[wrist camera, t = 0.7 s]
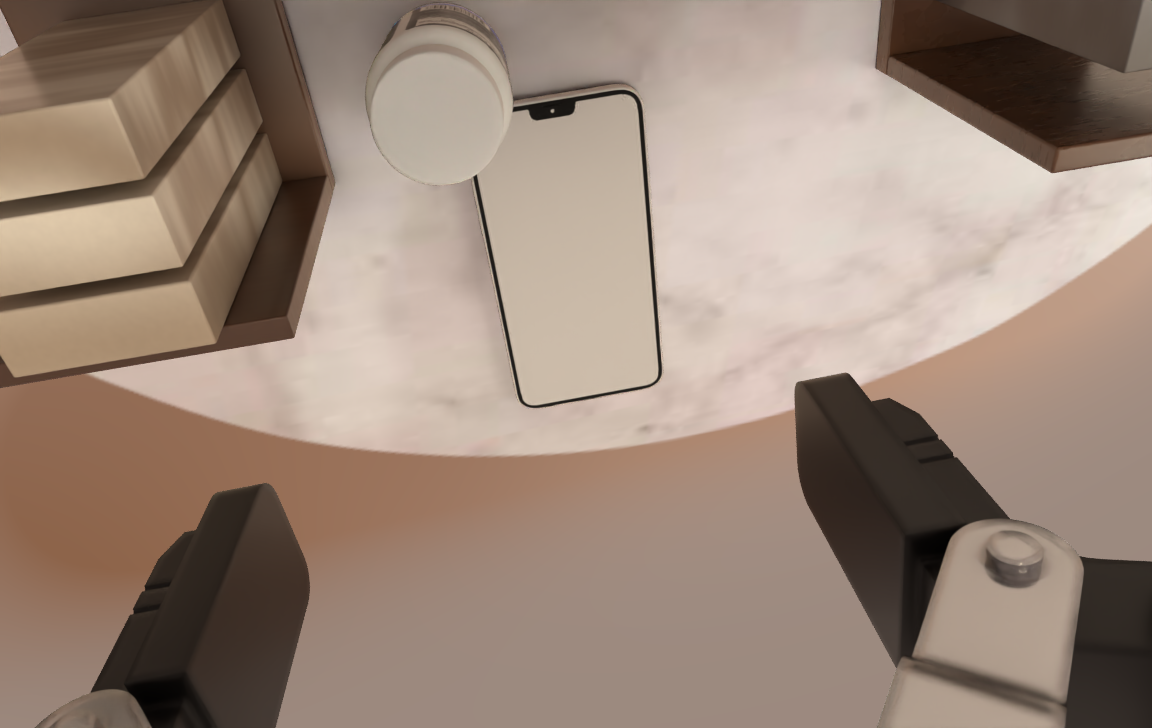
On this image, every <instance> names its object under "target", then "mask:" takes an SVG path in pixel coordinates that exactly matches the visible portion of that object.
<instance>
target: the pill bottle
mask: <svg viewBox="0 0 1152 728" xmlns="http://www.w3.org/2000/svg"><path fill="white" fill-rule="evenodd" d="M365 101H366V109H367V114H368V118H369V121H370V126H371V131H372V135H373V138H374V140H375V143H376V145H377V147H378V149H379V150H380V152H381V154H382V155H383V156H384V158H385V159H386V160H387V161H388V163H389V164H390V165H391V166H392V167H394V168H395V169H396V170H397V171H398V172H400V173H401V174H403V175H404V176H406V177H408V178H410V179H412V180H414V181H417V182H420V183H423V184H428V185H435V186H442V185H452V184H456V183H460V182H463V181H465V180H467V179H470V178H472V177H473V176H475V175H476V174H478V173H479V172H480V171H481V170H483V169H484V168H485V167H486V166H487V165H488V164H489V163H490V161H491V160H492V158H493V157H494V155H495V153H496V151H497V149H498V147H499V146H500V144H501V143H502V141H503V139H504V137H505V135H506V133H507V131H508V128H509V125H510V121H511V118H512V112H513V94H512V86H511V83H510V78H509V72H508V68H507V63H506V57H505V53H504V50H503V47H502V44H501V42H500V41H499V39H498V37H497V35H496V34H495V32H494V31H493V29H492V28H491V27H490V26H489V24H488V23H487V22H486V21H484V20H483V19H482V18H481V17H480V16H478V15H477V14H476V13H474V12H472V11H471V10H469V9H466V8H464V7H461V6H459V5H455V4H450V3H432V4H427V5H424V6H421V7H418V8H416V9H414V10H412V11H410V12H409V13H407V14H406V15H404V16H403V17H402V18H401V19H400V20H399V21H398V22H397V23H396V24H395V25H394V26H393V27H392V29H391V30H390V32H389V33H388V35H387V37H386V39H385V41H384V43H383V44H382V46H381V49H380V50H379V52H378V54H377V55H376V57H375V59H374V61H373V63H372V65H371V67H370V70H369V73H368V76H367V82H366V92H365Z"/></svg>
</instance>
